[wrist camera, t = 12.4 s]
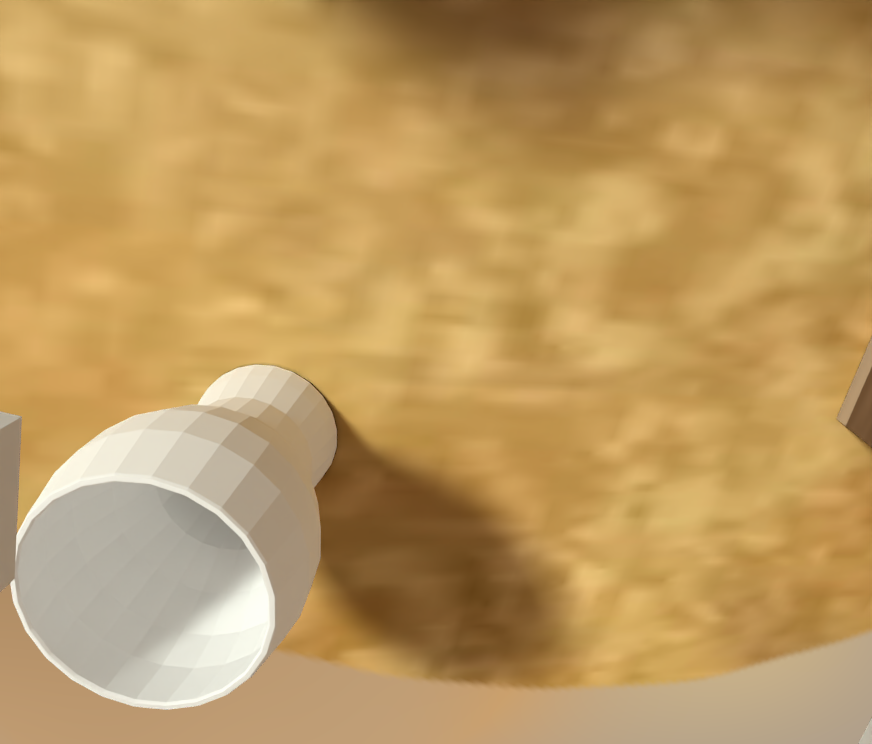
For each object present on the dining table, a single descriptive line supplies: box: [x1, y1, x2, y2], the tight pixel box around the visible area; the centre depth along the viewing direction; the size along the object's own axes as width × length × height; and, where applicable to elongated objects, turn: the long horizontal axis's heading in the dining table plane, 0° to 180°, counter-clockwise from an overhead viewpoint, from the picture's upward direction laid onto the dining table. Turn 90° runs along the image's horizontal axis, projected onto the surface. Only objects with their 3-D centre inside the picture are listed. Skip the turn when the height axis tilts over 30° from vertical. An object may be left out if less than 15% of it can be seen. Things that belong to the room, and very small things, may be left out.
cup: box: [11, 365, 337, 710], centre depth 32 cm, size 11×11×15 cm
